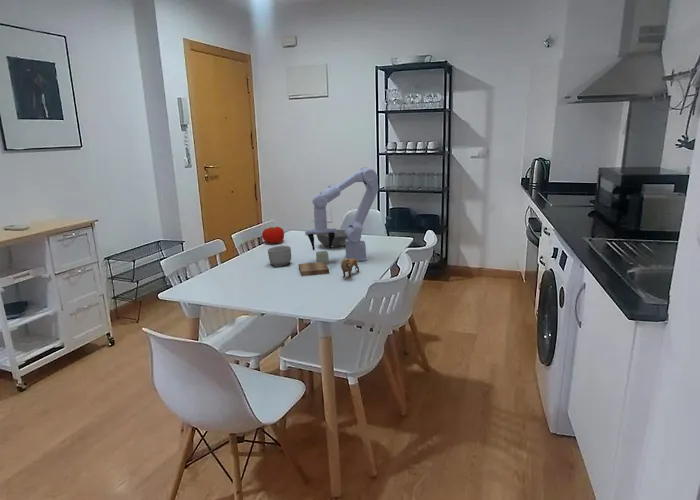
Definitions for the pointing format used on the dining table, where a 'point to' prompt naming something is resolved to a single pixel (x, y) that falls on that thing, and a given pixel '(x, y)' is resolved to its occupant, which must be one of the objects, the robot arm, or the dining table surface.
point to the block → (322, 256)
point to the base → (313, 268)
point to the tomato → (273, 235)
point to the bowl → (337, 240)
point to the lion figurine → (348, 266)
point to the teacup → (279, 255)
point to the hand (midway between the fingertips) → (321, 249)
